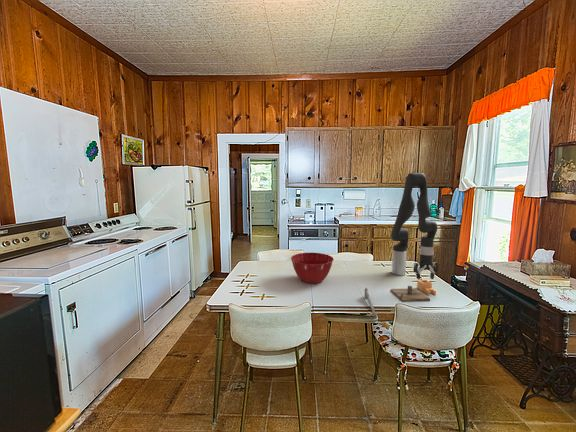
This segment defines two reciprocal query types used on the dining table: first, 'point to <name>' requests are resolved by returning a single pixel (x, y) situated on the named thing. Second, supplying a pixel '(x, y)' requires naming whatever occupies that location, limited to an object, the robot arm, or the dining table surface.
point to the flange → (425, 286)
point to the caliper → (369, 299)
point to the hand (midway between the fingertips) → (425, 279)
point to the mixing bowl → (312, 266)
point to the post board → (410, 294)
